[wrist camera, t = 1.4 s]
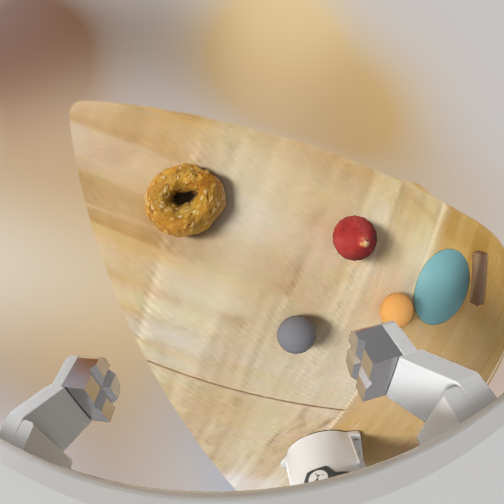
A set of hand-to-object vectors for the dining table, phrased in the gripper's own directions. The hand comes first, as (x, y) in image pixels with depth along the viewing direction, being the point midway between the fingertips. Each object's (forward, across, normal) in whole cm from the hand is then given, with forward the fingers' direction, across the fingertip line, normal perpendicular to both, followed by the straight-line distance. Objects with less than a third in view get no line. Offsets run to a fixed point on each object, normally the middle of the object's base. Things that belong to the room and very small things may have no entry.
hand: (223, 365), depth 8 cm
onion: (+28, +16, -7) cm, 33 cm away
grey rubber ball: (+23, +7, -20) cm, 31 cm away
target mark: (+25, +35, -18) cm, 46 cm away
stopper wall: (+25, +44, -18) cm, 53 cm away
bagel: (+31, -6, 0) cm, 32 cm away
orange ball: (+23, +22, -19) cm, 37 cm away
